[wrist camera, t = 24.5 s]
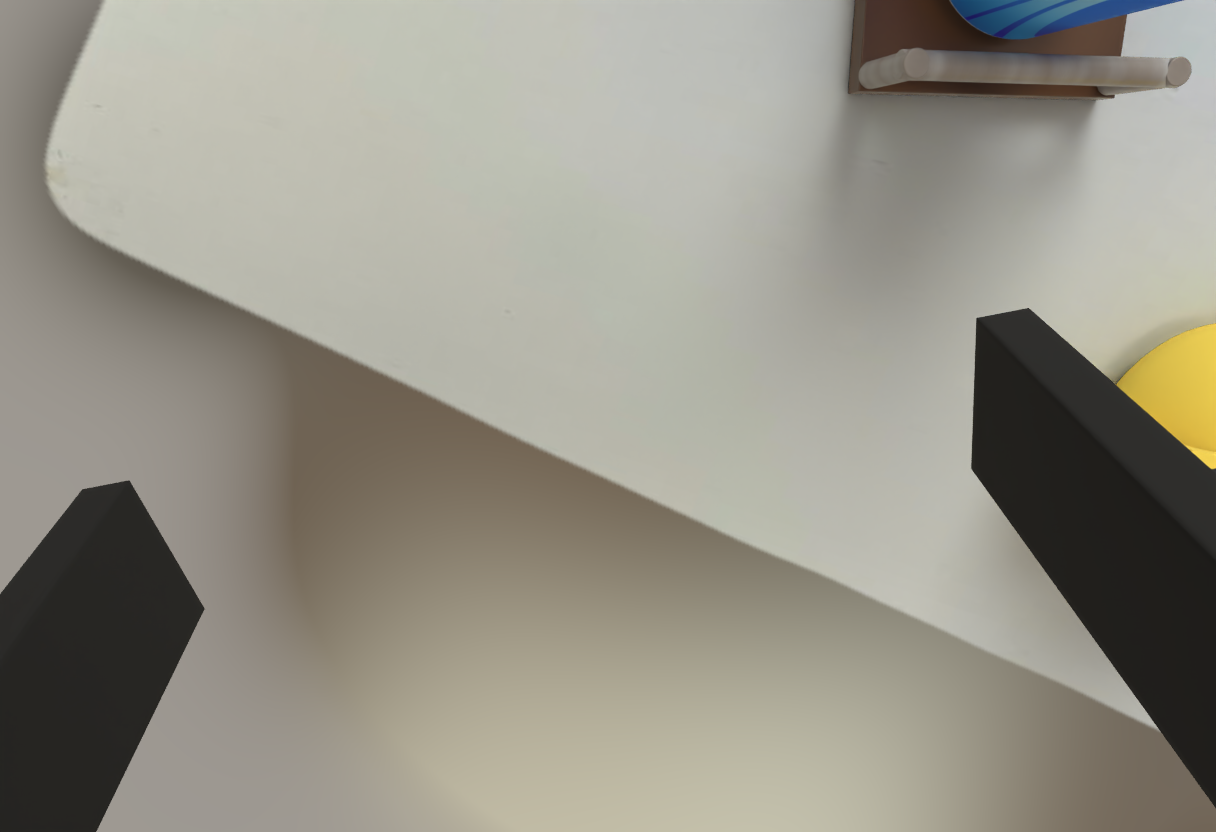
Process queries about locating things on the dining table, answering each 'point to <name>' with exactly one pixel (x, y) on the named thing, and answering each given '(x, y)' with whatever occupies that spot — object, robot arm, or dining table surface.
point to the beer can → (1043, 14)
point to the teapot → (1180, 389)
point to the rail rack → (994, 57)
